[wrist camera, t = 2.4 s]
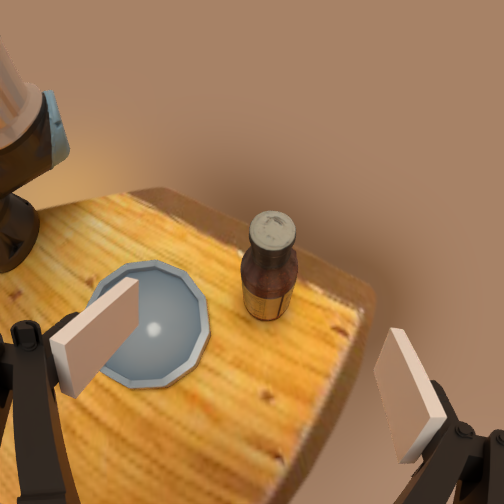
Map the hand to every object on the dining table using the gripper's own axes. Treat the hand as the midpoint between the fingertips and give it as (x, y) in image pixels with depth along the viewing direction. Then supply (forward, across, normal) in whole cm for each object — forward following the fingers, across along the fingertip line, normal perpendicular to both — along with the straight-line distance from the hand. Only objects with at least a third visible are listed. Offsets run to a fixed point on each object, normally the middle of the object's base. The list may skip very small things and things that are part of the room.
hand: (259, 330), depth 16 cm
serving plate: (+22, -16, -17) cm, 32 cm away
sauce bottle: (+27, 0, -12) cm, 30 cm away
